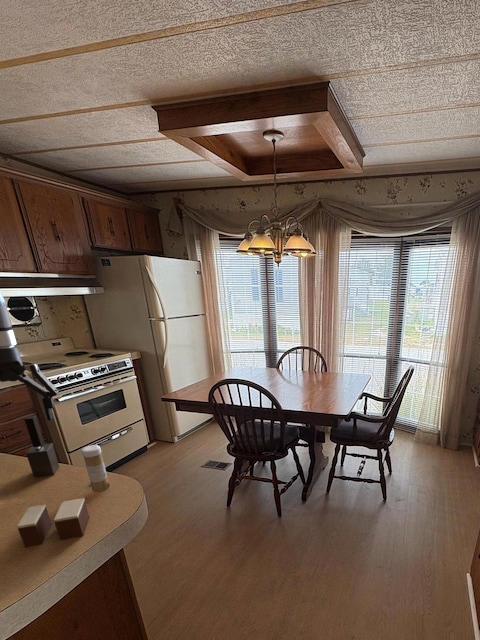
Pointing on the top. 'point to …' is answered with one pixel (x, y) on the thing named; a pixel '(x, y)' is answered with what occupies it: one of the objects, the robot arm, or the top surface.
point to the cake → (71, 519)
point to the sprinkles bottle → (95, 467)
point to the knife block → (43, 460)
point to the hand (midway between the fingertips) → (22, 421)
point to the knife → (34, 431)
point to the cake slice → (34, 525)
